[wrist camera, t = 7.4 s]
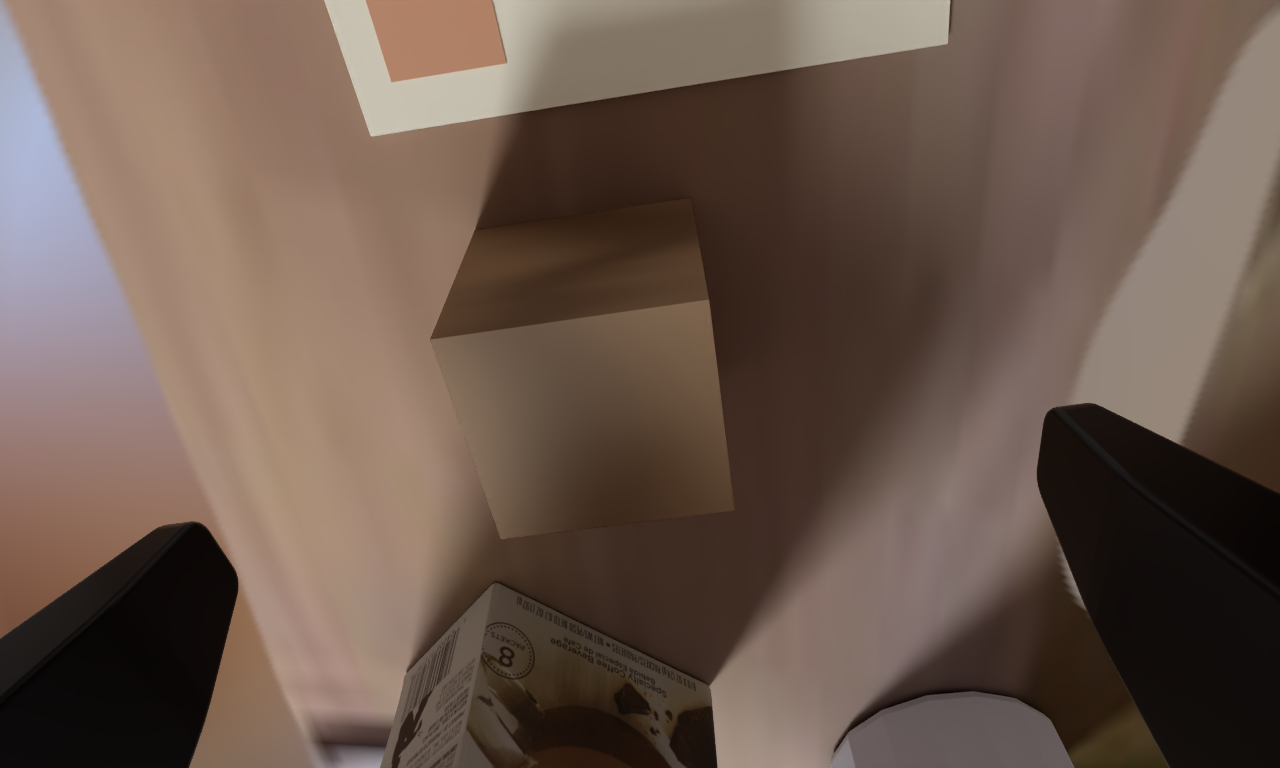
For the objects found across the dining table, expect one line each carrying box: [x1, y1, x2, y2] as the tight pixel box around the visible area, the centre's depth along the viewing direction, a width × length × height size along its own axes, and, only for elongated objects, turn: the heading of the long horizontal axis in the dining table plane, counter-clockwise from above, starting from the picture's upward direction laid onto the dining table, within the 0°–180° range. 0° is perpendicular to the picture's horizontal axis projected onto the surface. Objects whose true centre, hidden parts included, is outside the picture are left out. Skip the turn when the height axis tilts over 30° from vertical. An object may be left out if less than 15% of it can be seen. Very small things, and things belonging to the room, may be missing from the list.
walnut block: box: [430, 197, 735, 539], centre depth 17 cm, size 5×5×5 cm
